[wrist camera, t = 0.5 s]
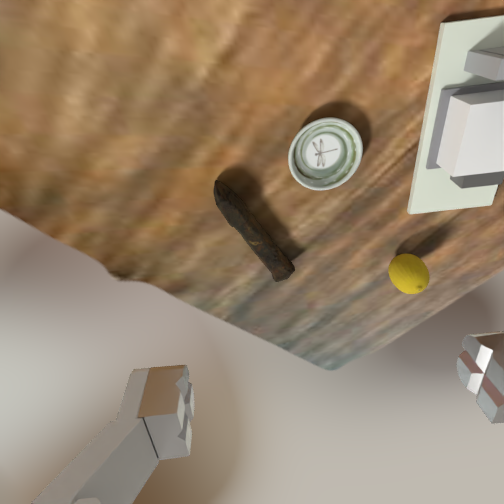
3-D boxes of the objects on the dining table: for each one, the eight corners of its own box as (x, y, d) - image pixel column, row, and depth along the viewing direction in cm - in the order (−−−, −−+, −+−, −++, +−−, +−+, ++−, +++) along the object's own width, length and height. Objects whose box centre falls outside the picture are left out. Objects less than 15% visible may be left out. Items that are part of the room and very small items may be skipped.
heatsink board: (440, 22, 38) (477, 27, 33) (551, 8, 38) (608, 10, 32) (407, 210, 53) (428, 237, 47) (487, 201, 52) (518, 227, 46)
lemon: (382, 273, 60) (400, 307, 53) (380, 248, 57) (399, 281, 50) (415, 266, 59) (437, 298, 53) (415, 240, 56) (439, 272, 50)
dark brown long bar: (293, 260, 58) (297, 278, 54) (272, 270, 59) (275, 289, 55) (232, 168, 48) (232, 182, 44) (208, 182, 49) (206, 197, 45)
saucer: (366, 164, 48) (371, 171, 46) (301, 193, 50) (304, 201, 49) (345, 98, 43) (350, 103, 41) (274, 134, 45) (276, 140, 43)
